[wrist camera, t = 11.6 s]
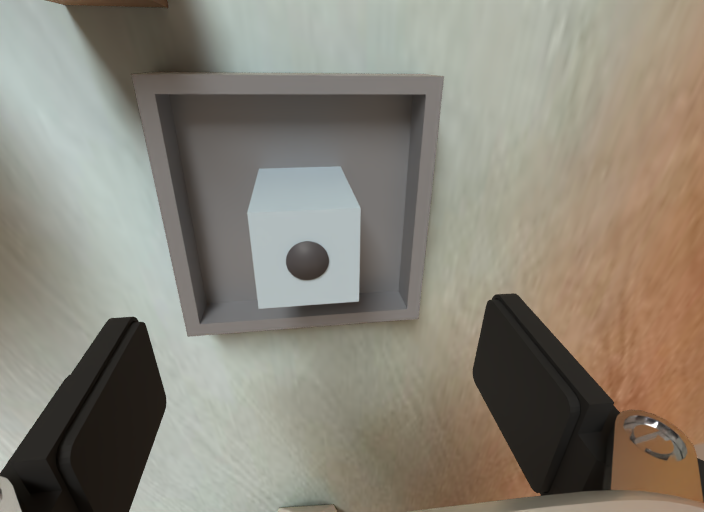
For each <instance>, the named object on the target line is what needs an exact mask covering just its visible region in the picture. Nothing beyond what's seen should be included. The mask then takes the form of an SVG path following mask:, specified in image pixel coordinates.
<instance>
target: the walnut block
mask: <svg viewBox="0 0 704 512" xmlns="http://www.w3.org/2000/svg"><path fill="white" fill-rule="evenodd" d="M46 1H51V2H55V3H59V4H63V5H87V6H125V7H162V8H168V2H167V0H46Z"/></svg>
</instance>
